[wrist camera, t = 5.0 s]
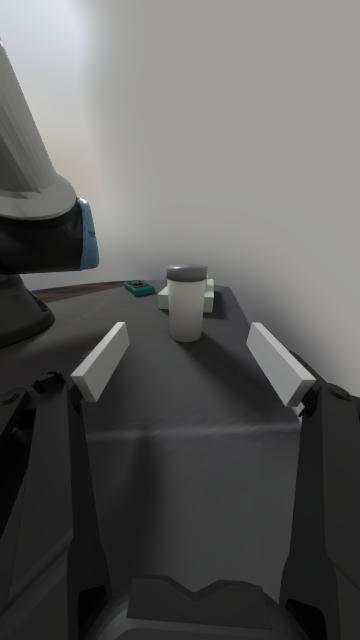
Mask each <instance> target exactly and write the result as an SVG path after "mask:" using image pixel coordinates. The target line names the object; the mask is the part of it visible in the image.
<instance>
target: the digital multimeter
mask: <svg viewBox="0 0 360 640" xmlns="http://www.w3.org/2000/svg"><path fill="white" fill-rule="evenodd" d="M124 286H125V288H126V289H128V290H129V291H131V292H132V293H133V294H134V295H135V296H141V295H147V294H151V293H155V288H154V287H153V286H151V285H149V284H147V283H145V282H143V281H141V280H132V281H127V282H125V283H124Z"/></svg>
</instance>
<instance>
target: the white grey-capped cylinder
mask: <svg viewBox="0 0 360 640" xmlns="http://www.w3.org/2000/svg"><path fill="white" fill-rule="evenodd" d="M207 268H208V267H207V266H205V265H196V264H179V265H170V266H167V267H166V272H167V280H168V300H169V319H170V335H171V337H172V338H173V339H175V340H176V341H179V342H193V341H196V340H198V339H199V338H200V337H201V332H202V320H203V308H204V296H205V284H206V279H207Z"/></svg>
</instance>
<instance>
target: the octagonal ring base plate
mask: <svg viewBox="0 0 360 640" xmlns="http://www.w3.org/2000/svg"><path fill="white" fill-rule="evenodd" d="M207 276H208V275H207ZM213 300H214V290H213V279H206V284H205V296H204V308H203V312H211V313H212V309H213ZM158 303H159V309H169V300H168V286H166V287H165V288H164V289H163V290H162V291H161V292H160V293H159V294H158Z"/></svg>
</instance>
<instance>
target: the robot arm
mask: <svg viewBox="0 0 360 640" xmlns="http://www.w3.org/2000/svg"><path fill="white" fill-rule="evenodd" d="M98 264H99V254H98V247H97V241H96V237H95V231H94V224H93V219H92V214H91V210H90V206H89V203H88V202H87V201H85V200H83V199H81V198H77V197H76V194H75V191H74V189H73V187H72V185H71V183H70V182H69V181H68V180H67V179H66V178H65V177H64V176H62V175H61V174H60V173H58V172H57V171H56V170H54V168H53V166H52V163H51V161H50V159H49V156H48V154H47V151H46V149H45V146H44V144H43V142H42V139H41V137H40V134H39V132H38V129H37V127H36V124H35V122H34V120H33V117H32V115H31V112H30V110H29V107H28V105H27V102H26V100H25V98H24V95H23V93H22V90H21V88H20V86H19V83H18V80H17V78H16V76H15V73H14V71H13V69H12V66H11V64H10V61H9V59H8V56H7V54H6V52H5V49H4V46H3V44H2V42H1V39H0V347H4V346H7V345H10V344H13V343H15V342H18V341H21V340H23V339H26V338H28V337H30V336H32V335H34V334H36V333H38V332H40V331H42V330H44V329H45V328H47V327H48V326H50V325H51V324H52V323H53V322H54V320H55V317H54V315H53V313H52V311H51V310H50V308H49V307H47V306H46V305H45V304H44V303H43V302H42V301H41V300H40V299H39V298H38V297H36V296H35V295H34V294H33V293H32V292H31V291H30V290H29V289H28V288H27V287H26V286H25V284H24V283H23V281H22V279H21V277H20V276H19V274H29V273H47V272H65V271H81V270H85V269H93V268H96V267H97V266H98ZM129 344H130V341H129V337H128V333H127V329H126V325H125V322H117V324H116V325H115V326H114V327H113V328H112V329H111V330H110V331H109V333H108V334H107V335H106V336H105V337H104V338H103V339H102V341H101V342H100V343H99V344H98V345H97V346H96V347H95V348H94V349H90V350H89V351H87V352H86V353H84V354H83V355H82V356H81V357H80V359H79V360H78V361H77V362H76V363H75V364H74V365H73V366H72V367H71V368H70V369H69V370H68V371H67V372H66V373H65V374H64V375H62V374H61V372H60V371H59V370H51V371H47V372H45V373H43V374H41V375H40V376H38V377H37V378H36V379H35V380H34V381H33V382H32V384H31V386H32V387H33V388H34V389H35V390H36V391H32V392H27V391H26V390H25V388H18V389H14V390H12V391H9V392H7V393H6V394H4V395H3V396H1V397H0V539H1V537H2V534H3V531H4V529H5V526H6V524H7V521H8V518H9V516H10V513H11V510H12V508H13V505H14V502H15V500H16V497H17V494H18V492H19V489H20V486H21V484H22V481H23V478H24V476H25V473H26V470H27V468H28V470H27V477H26V484H25V491H24V497H23V504H22V511H21V518H20V525H19V532H18V539H17V545H16V552H15V559H14V566H13V573H12V580H11V587H10V591H9V596H8V599H7V602H6V604H5V606H4V608H3V610H2V611H1V613H0V640H360V398H359V397H356V396H352V395H350V394H349V393H348V392H347V391H345V390H344V389H342V388H340V387H339V386H337V385H334V384H331V383H327V382H326V381H325V380H324V379H323V378H322V377H321V376H319V375H318V374H317V373H316V372H315V371H314V370H313V369H312V368H311V367H310V366H308V364H307V363H306V362H304V360H303V359H302V358H301V357H300V356H298V355H297V354H295V353H294V352H292V351H287V350H286V349H285V347H283V345H282V344H280V342H279V341H277V339H276V338H274V336H273V335H272V334H271V333H270V332H269V331H268V330H267V329H266V328H265V327H264V326H263V325H262V324H261V323H252V325H251V329H250V332H249V336H248V339H247V343H246V345H247V346H248V348H249V349H250V351H251V353H252V354H253V356H254V357H255V359H256V360H257V362H258V364H259V365H260V367H261V368H262V370H263V372H264V373H265V375H266V376H267V378H268V380H269V381H270V383H271V384H272V386H273V387H274V389H275V391H276V392H277V394H278V395H279V397H280V399H281V400H282V402H283V403H284V405H285V406H289V407H297V406H298V405H299V403H300V402H302V403H303V405H304V406H305V407H304V409H303V410H302V411H301V412H300V414H299V416H298V417H301V416H302V426H301V436H300V447H299V458H298V468H297V479H296V490H295V500H294V511H293V522H292V533H291V543H290V552H289V556H288V559H287V561H286V563H285V565H284V569H283V573H282V580H281V588H280V597H279V605H278V604H277V603H276V602H275V601H274V600H273V599H272V598H270V597H269V596H268V595H267V594H266V593H264V592H263V590H262V587H261V586H257V585H254V584H251V583H247V582H244V581H230V580H218V581H216V582H214V583H212V584H210V585H208V586H206V587H205V588H203V589H201V590H199V591H197V592H191V591H190V590H188V589H187V588H185V587H184V586H182V585H181V584H179V583H178V582H176V581H175V580H173V579H172V578H170V577H169V576H157V575H141V576H138V577H134V578H133V579H132V582H130V583H128V584H127V585H126V586H124V587H123V588H122V589H120V590H119V591H118V592H117V593H116V594H115V595H114V596H113V597H112V592H111V586H110V579H109V572H108V566H107V561H106V557H105V553H104V551H103V548H102V546H101V542H100V537H99V530H98V523H97V516H96V509H95V501H94V494H93V487H92V480H91V472H90V465H89V458H88V451H87V443H86V436H85V429H84V421H83V414H82V407H81V403H80V401H81V399H82V398H83V397H84V399H85V401H86V402H97V400H98V399H99V397H100V395H101V393H102V392H103V390H104V388H105V386H106V384H107V383H108V381H109V379H110V377H111V376H112V374H113V372H114V370H115V369H116V367H117V365H118V363H119V362H120V360H121V358H122V356H123V355H124V353H125V351H126V349H127V348H128V346H129Z"/></svg>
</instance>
